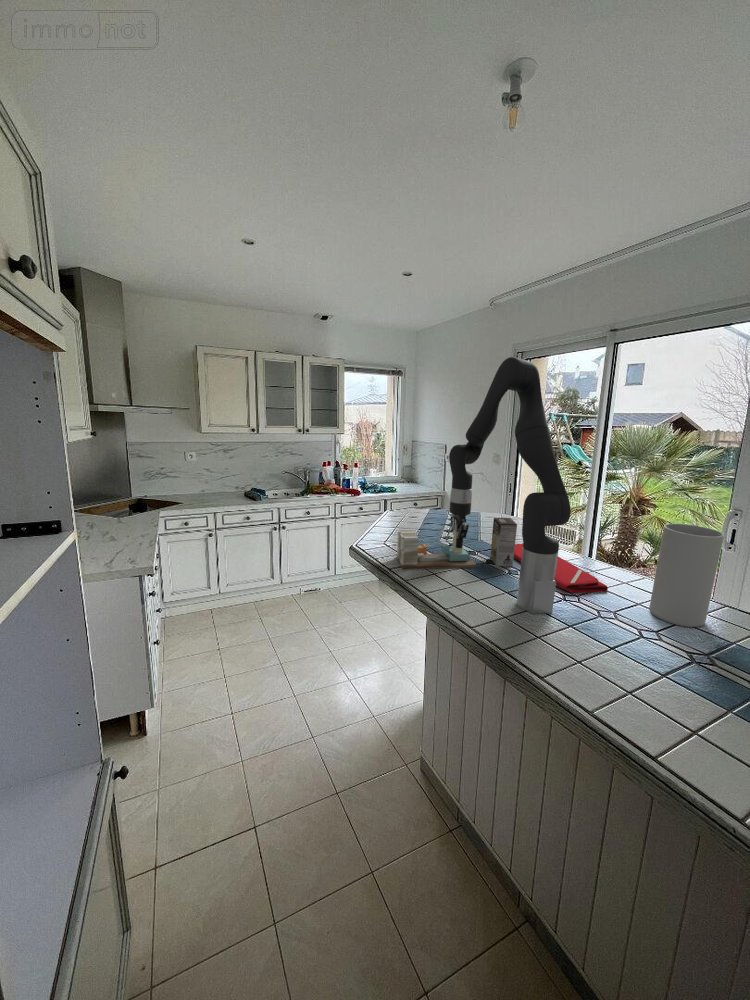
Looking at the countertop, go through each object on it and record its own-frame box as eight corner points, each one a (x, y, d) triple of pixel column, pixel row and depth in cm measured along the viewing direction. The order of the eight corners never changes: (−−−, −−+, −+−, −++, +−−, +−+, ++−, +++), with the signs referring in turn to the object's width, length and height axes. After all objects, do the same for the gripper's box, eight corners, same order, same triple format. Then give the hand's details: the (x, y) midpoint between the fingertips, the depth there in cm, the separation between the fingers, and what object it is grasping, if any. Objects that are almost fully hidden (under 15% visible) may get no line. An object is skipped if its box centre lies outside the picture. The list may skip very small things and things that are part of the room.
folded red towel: (537, 550, 166) (538, 541, 165) (608, 593, 126) (610, 582, 125) (501, 551, 163) (502, 542, 162) (563, 595, 124) (565, 584, 123)
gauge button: (426, 555, 145) (427, 546, 144) (410, 555, 144) (410, 547, 143) (424, 552, 148) (424, 544, 147) (408, 552, 147) (408, 544, 146)
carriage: (468, 561, 146) (470, 533, 144) (444, 561, 145) (446, 533, 142) (463, 555, 152) (465, 528, 149) (440, 556, 150) (441, 528, 148)
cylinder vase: (638, 609, 114) (653, 525, 109) (668, 603, 119) (683, 522, 114) (684, 631, 103) (703, 538, 98) (715, 624, 107) (735, 534, 102)
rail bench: (476, 567, 143) (479, 538, 141) (402, 569, 140) (403, 539, 138) (465, 555, 155) (467, 528, 153) (396, 557, 152) (397, 529, 149)
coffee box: (489, 557, 154) (493, 517, 151) (506, 557, 154) (510, 517, 151) (495, 566, 145) (499, 523, 142) (513, 566, 145) (518, 524, 142)
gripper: (478, 504, 137) (474, 552, 141) (464, 496, 151) (461, 540, 155) (456, 504, 136) (453, 553, 140) (444, 496, 150) (442, 540, 154)
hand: (457, 546), depth 147 cm, fingers closed on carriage, 3 cm apart
